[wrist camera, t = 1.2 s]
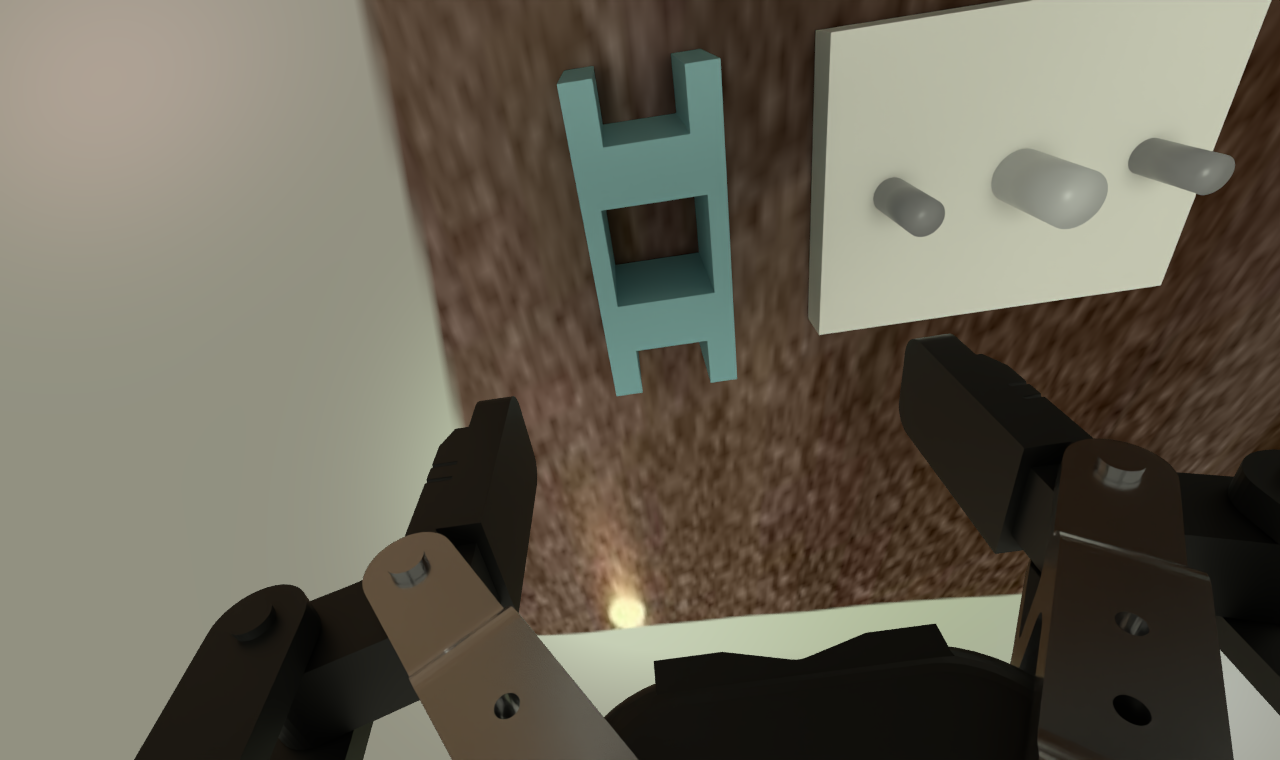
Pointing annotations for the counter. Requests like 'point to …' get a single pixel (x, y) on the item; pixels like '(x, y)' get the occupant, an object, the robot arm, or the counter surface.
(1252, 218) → the counter surface
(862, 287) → the base plate
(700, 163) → the flange bar
